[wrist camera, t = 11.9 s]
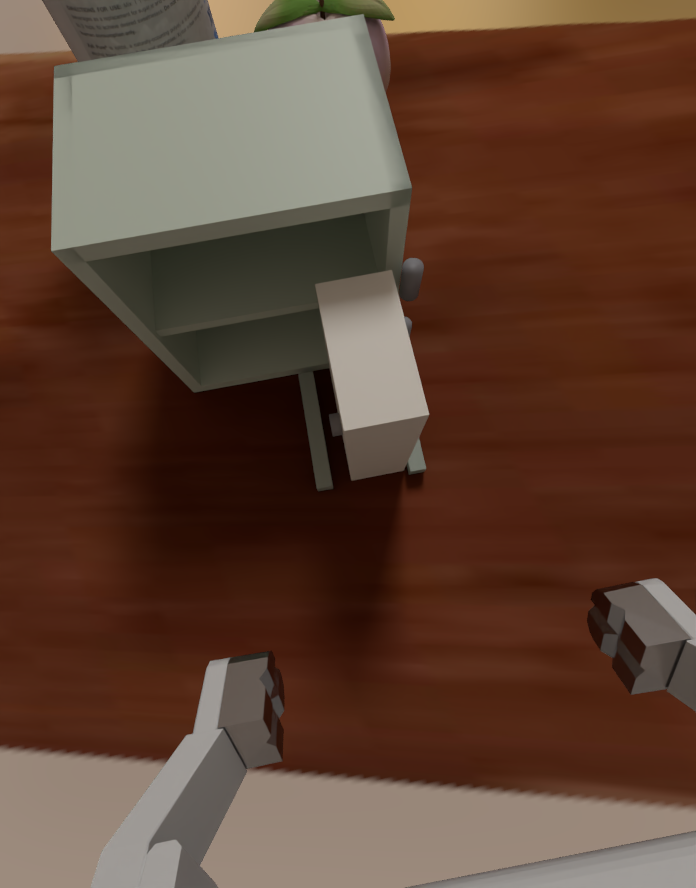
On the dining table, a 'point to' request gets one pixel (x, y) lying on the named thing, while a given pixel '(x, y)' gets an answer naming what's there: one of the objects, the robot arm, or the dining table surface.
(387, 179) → the cabinet
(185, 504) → the dining table surface
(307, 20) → the decorative fruit
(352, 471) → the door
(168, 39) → the supplement tub
